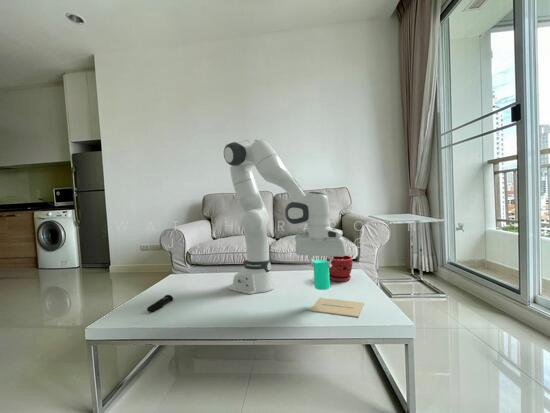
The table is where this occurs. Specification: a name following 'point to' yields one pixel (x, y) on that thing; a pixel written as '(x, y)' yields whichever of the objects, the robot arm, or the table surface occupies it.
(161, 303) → the electric trimmer
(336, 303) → the tan flat wooden board
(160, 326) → the table surface
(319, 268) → the candle
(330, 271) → the plant pot
